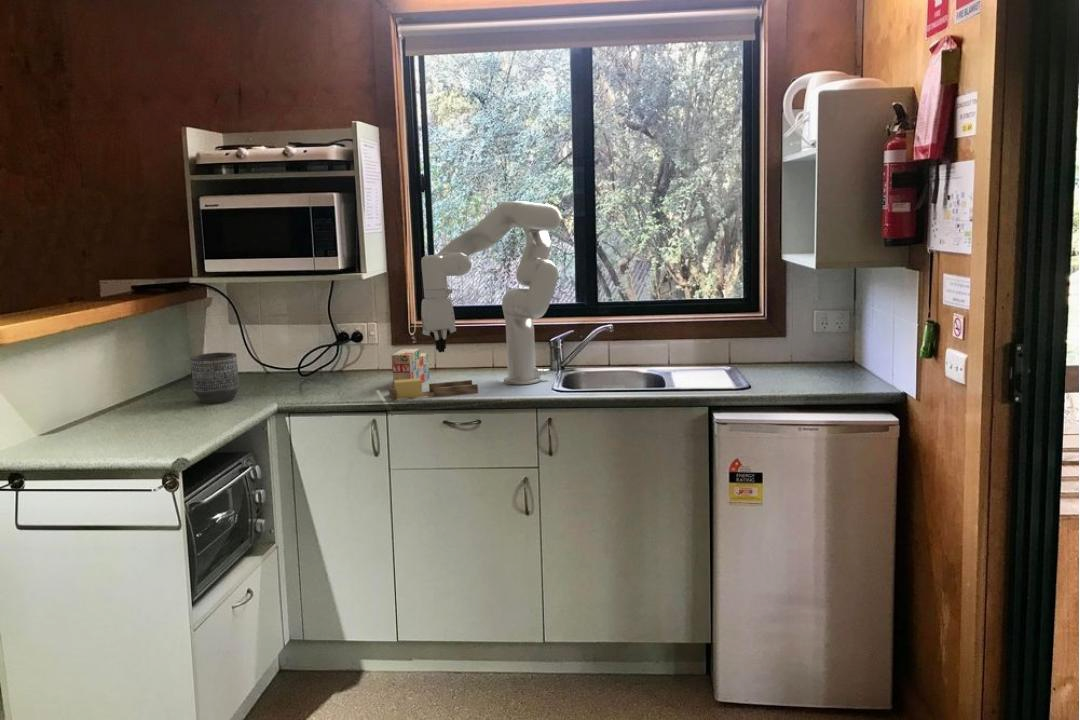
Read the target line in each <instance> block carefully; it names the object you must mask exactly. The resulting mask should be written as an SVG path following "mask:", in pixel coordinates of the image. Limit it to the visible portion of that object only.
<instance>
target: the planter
mask: <svg viewBox="0 0 1080 720" xmlns="http://www.w3.org/2000/svg"><path fill="white" fill-rule="evenodd" d="M189 358H190V369H191V377H192V390H193V392H194V394H195V396H196V397H197V398H198V399H199V401H200V402H201V403H202V404H204V405H205V404H206V405H216V404H218V405H219V404H225V403H229V402H232V401H234V399H235V398H236V395H237V393H238V391H239V389H240V377H239V368H238V356H237V353H235V352H225V351H224V352H210V353H209V352H208V353H202V354H197V355H193V356H190V357H189Z"/></svg>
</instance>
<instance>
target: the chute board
mask: <svg viewBox="0 0 1080 720" xmlns="http://www.w3.org/2000/svg"><path fill="white" fill-rule="evenodd" d="M478 385H479V384H475V383H474V384H473V380H472V379H468V380H467V379H466V380H457V381H445V382H434V383H432V382H431V383H428V390H427V391H424V390H422V396H420V397H409V398H398V399H397V398H396V392H395V391H394V387H392V386H391V387H390V386H389V387H388V396H389V397H390V398H391V399H392V401H403V400H412V399H423V398H425V399H427V398H434V397H435V398H436V397H443V396H457V395H468V394H469V395H470V394H477V393H479V387H478Z"/></svg>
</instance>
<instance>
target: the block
mask: <svg viewBox="0 0 1080 720" xmlns="http://www.w3.org/2000/svg"><path fill="white" fill-rule="evenodd" d="M422 384H423V383H421V380H420V379H419V378H415V379H403V380H394V387H393V389H394V391H395V392H396V398H397V399H398V398H409V397H420V396H422V391H423V387H422V386H423V385H422Z"/></svg>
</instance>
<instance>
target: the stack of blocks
mask: <svg viewBox="0 0 1080 720" xmlns="http://www.w3.org/2000/svg"><path fill="white" fill-rule="evenodd" d="M391 365H392V366H391V369H392V370H391V371H392V381H393V382H392V383H393V387H392V388H394V380H403V379H415V378H419V379H420V380H421V383H422V384H423V383H425V382H426V381H428V380H429V379H430V363H429V353H427V352H421V350H420V348H403V349H400V350H398V351H396V352H395V353H393V354H391Z"/></svg>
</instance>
